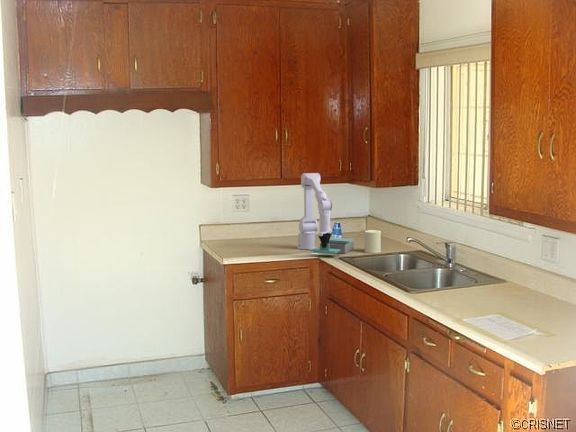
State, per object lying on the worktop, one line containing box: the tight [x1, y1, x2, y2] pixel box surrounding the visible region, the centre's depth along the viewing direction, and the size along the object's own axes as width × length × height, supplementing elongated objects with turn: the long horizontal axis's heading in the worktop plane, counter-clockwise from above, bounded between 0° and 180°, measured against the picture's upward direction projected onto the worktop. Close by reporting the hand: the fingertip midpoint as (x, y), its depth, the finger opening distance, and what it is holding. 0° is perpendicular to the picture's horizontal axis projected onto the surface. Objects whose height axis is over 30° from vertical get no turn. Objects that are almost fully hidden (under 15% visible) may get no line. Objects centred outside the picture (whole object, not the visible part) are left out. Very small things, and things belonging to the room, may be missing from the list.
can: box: [363, 229, 382, 254], centre depth 389 cm, size 9×9×12 cm
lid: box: [310, 242, 340, 255], centre depth 377 cm, size 14×8×5 cm, turn 67°
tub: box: [329, 237, 355, 255], centre depth 392 cm, size 14×16×6 cm
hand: (324, 247), depth 375 cm, fingers closed on lid
